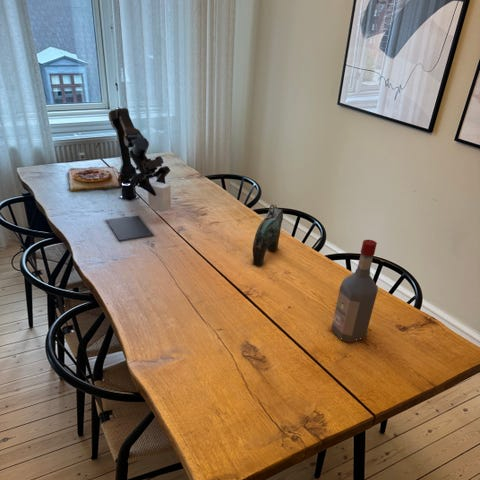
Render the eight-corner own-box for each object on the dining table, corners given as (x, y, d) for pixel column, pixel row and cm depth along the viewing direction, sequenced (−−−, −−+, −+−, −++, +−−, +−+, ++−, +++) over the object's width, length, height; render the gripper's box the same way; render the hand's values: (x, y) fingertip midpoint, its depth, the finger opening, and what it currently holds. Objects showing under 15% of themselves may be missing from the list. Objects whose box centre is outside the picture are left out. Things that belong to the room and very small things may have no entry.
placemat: (106, 220, 195) (106, 219, 195) (138, 216, 201) (137, 215, 201) (119, 241, 180) (119, 240, 179) (153, 236, 185) (153, 235, 185)
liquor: (344, 345, 131) (366, 252, 114) (327, 327, 138) (345, 237, 121) (369, 338, 134) (394, 247, 117) (352, 322, 141) (373, 233, 124)
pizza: (64, 171, 247) (62, 164, 245) (116, 168, 256) (115, 161, 254) (69, 193, 221) (68, 185, 219) (127, 188, 230) (126, 181, 228)
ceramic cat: (269, 244, 184) (273, 197, 173) (283, 248, 182) (289, 200, 171) (248, 264, 169) (251, 213, 158) (264, 268, 167) (268, 217, 156)
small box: (171, 209, 195) (171, 185, 189) (163, 212, 191) (163, 188, 185) (156, 204, 198) (155, 180, 192) (148, 208, 193) (147, 183, 188)
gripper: (132, 154, 177) (153, 189, 178) (166, 146, 189) (185, 178, 190) (120, 169, 185) (140, 202, 186) (154, 161, 197) (173, 192, 198)
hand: (160, 193), depth 190 cm, fingers closed on small box, 6 cm apart
